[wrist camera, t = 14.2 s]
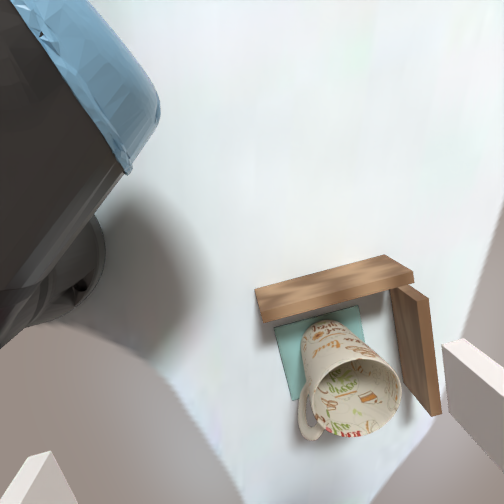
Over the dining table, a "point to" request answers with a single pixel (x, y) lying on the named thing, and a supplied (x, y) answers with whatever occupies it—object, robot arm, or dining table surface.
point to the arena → (357, 319)
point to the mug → (344, 383)
